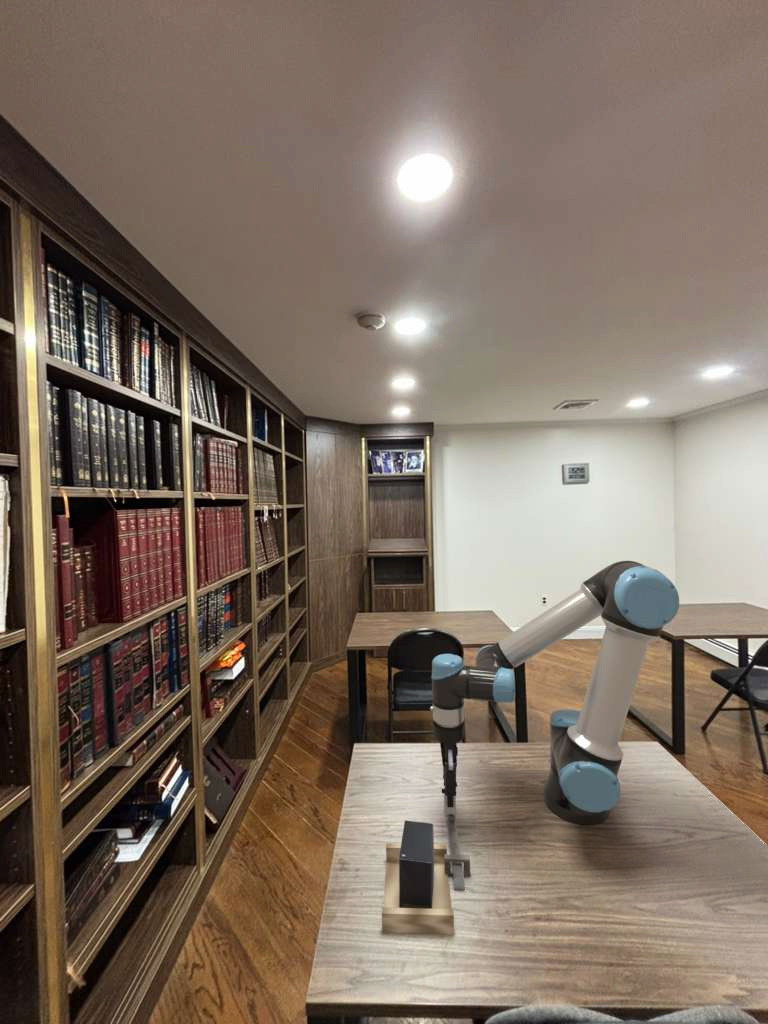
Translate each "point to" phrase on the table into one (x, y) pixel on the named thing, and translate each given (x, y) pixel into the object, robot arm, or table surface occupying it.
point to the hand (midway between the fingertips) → (450, 816)
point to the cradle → (441, 912)
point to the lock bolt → (455, 852)
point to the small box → (416, 865)
